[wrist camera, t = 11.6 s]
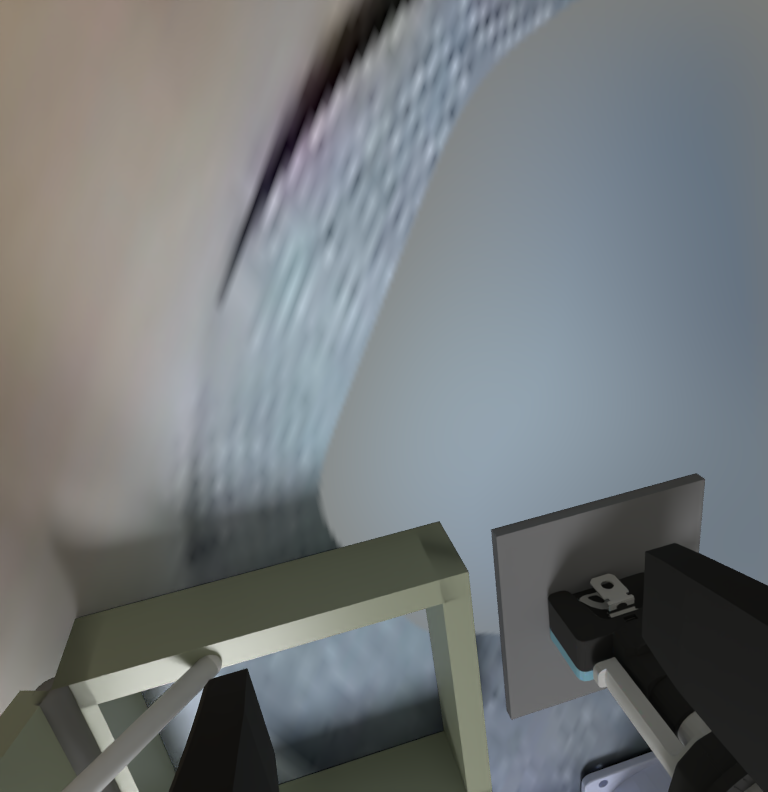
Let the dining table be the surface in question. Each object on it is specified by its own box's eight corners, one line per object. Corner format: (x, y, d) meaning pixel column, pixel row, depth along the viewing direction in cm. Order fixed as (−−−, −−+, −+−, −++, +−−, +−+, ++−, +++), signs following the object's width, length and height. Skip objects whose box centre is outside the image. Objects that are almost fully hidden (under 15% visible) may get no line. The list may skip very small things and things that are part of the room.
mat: (696, 473, 24) (705, 479, 24) (682, 652, 28) (689, 660, 28) (491, 529, 23) (496, 536, 22) (506, 710, 27) (511, 719, 26)
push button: (683, 524, 24) (950, 737, 15) (678, 621, 26) (910, 859, 17) (535, 569, 23) (726, 827, 14) (542, 666, 25) (713, 944, 16)
